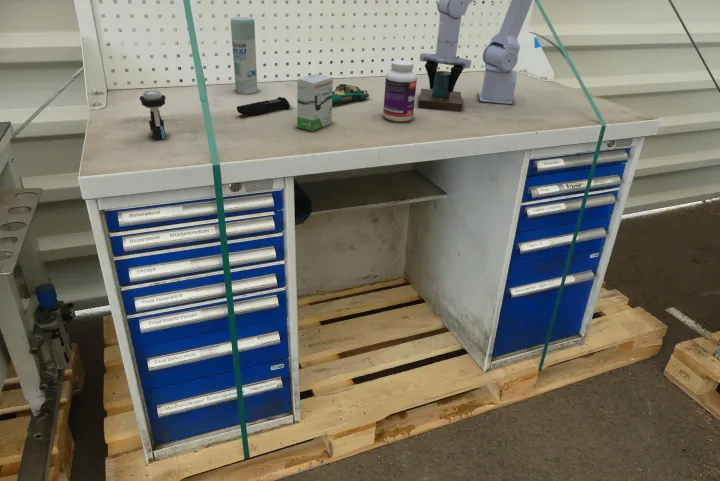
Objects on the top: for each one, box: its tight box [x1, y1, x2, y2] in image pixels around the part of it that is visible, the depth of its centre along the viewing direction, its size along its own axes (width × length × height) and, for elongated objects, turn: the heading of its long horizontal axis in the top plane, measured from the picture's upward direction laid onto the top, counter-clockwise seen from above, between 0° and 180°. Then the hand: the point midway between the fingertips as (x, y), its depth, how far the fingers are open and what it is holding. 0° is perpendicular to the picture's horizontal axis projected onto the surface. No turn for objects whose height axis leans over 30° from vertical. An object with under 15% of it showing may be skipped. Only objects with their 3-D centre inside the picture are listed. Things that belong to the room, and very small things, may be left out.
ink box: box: [296, 73, 334, 132], centre depth 129 cm, size 9×5×12 cm, turn 148°
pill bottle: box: [382, 59, 418, 123], centre depth 136 cm, size 8×8×14 cm
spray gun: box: [332, 83, 370, 105], centre depth 152 cm, size 4×17×15 cm
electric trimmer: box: [236, 96, 291, 116], centre depth 138 cm, size 4×16×3 cm, turn 133°
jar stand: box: [418, 88, 463, 112], centre depth 154 cm, size 13×12×2 cm
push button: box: [139, 90, 167, 141], centre depth 118 cm, size 7×5×10 cm
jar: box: [432, 70, 451, 98], centre depth 151 cm, size 5×5×7 cm
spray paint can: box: [230, 16, 258, 95], centre depth 150 cm, size 6×6×20 cm
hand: (441, 89), depth 152 cm, fingers closed on jar, 5 cm apart
